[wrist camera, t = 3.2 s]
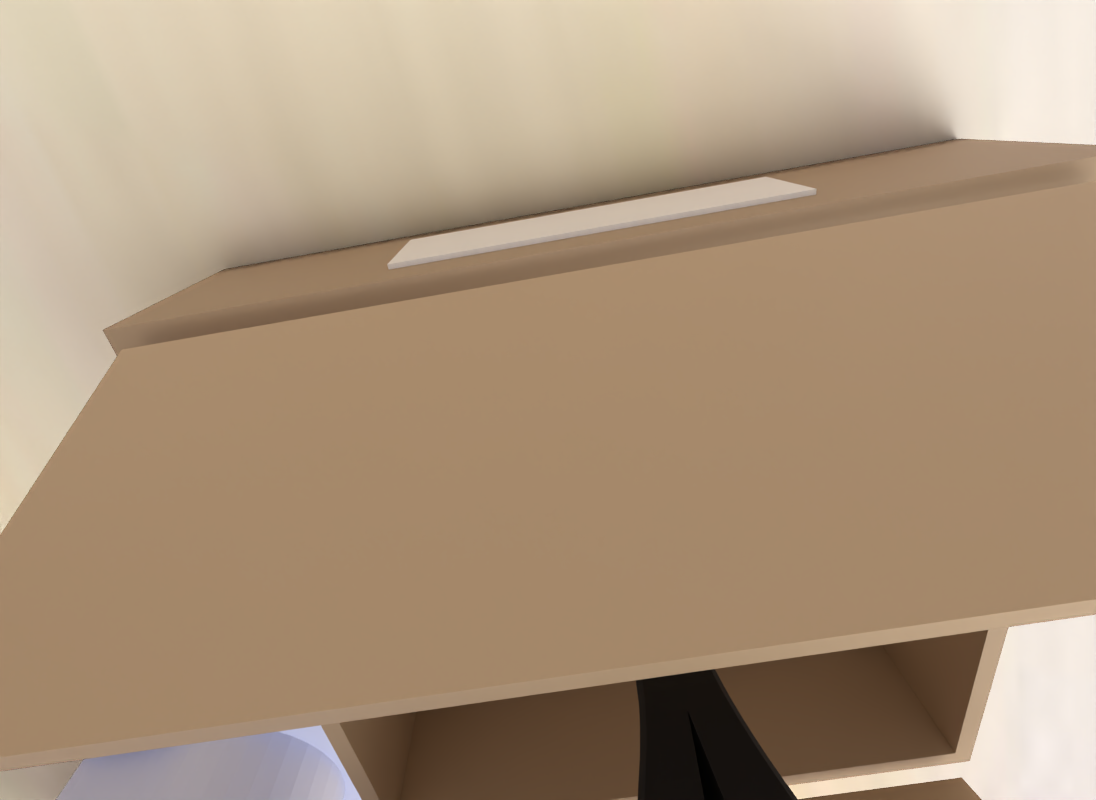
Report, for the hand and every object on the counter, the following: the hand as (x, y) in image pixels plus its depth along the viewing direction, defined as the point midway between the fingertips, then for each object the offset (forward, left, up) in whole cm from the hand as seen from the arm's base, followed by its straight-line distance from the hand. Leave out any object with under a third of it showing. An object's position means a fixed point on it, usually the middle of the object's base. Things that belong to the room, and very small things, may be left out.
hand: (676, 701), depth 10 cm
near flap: (0, +6, +1) cm, 6 cm away
